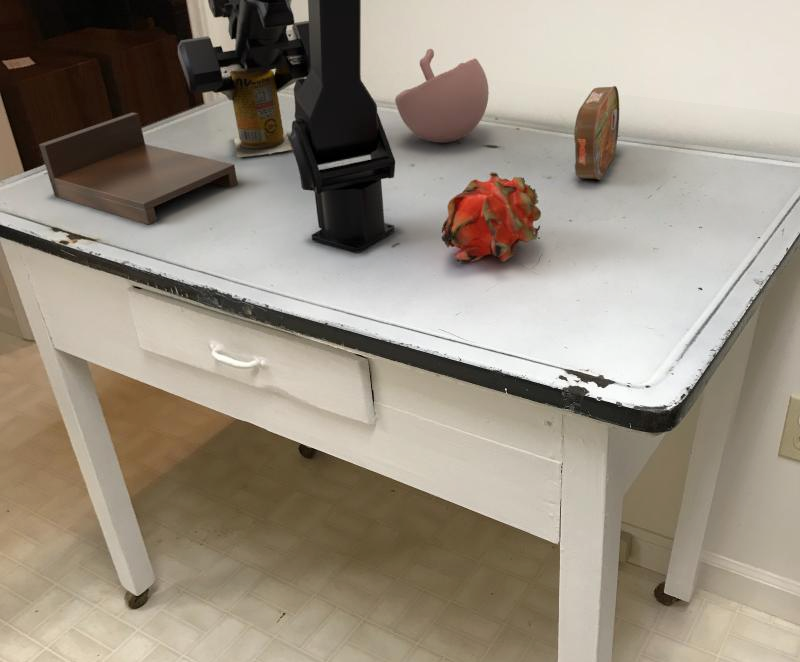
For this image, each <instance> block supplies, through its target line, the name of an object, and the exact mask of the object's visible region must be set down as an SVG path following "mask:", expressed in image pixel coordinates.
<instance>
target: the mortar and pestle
mask: <svg viewBox="0 0 800 662" xmlns="http://www.w3.org/2000/svg"><path fill="white" fill-rule="evenodd" d="M434 57H435V51H434V49H432V48H428V49H427V50H426V52H425V55H424V56H423V57H422V58H421V59H420V60H419V67H420V69H421V72H422V74H423V77H424V79H425V81H424V82H422V83H420V84H418V85H417V86H414V87H412V88H408V89H404V90H403V91H400V93H398V94H397V95H396V96H395V99H394V101H395V106H396V108H397V111H398V114H399V116H400V118H401V120H402V121H403V123H404V124H405V126H406V127H407V128H408V130H410V131H411V132H412V133H413V134H414V135H416V136H417V137H419V138H421V139H423V140H425V141H429V142H432V143H440V144H441V143H451V142H455V141H457V140H460V139H462V138H464V137H466V136H467V135H469V134H470V133H471V132H472V131H473V130H474V129H476V127H477V126H478V125H479V124H480V123H481V121H482V119H483V117H484V115H485V113H486V110H487V107H488V102H489V94H490V93H489V81H488V79H487V78H488V77H487V76H486V72H485V70H484V68H483V67H482V65H481V63H480V62H479V60H478V59H477V58H473V59H470V60H467V61H466V62H460V63H459V64H458V65H456V66H455V67H454V68H451V69H450V70H448V71H444V72H442V73H439V74H437V75H435V74H434V72H433V69H432V66H431V63H432V60H433V58H434Z"/></svg>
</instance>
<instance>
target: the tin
mask: <svg viewBox="0 0 800 662" xmlns="http://www.w3.org/2000/svg"><path fill="white" fill-rule="evenodd" d="M619 96H620V95H619V90H618V87H617V86H616V85H613V86H601V87H600V86H599V87H595V88H593V89H592V90H591V91H590V93H589V94H588V95H587V97H586V98H585V100H584V102H583V103H582V105H581V106H580V107H579V109H578V111H577V114H576V119H575V124H574V133H573V136H574V137H573V138H574V139H573V140H574V150H575V151H574V153H575V157H574V158H575V163H574V171H575V175H576V177H577V178H578V179H583V180H597V181H600V180H602V179H603V177H604V175H605V173H606V171H607V170H608V167H609V165H610V164H611V162H612V160H613V158H614V156H615V153H616V149H617V144H618V139H619V138H618V137H619V126H620V125H619V124H620V97H619Z"/></svg>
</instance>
